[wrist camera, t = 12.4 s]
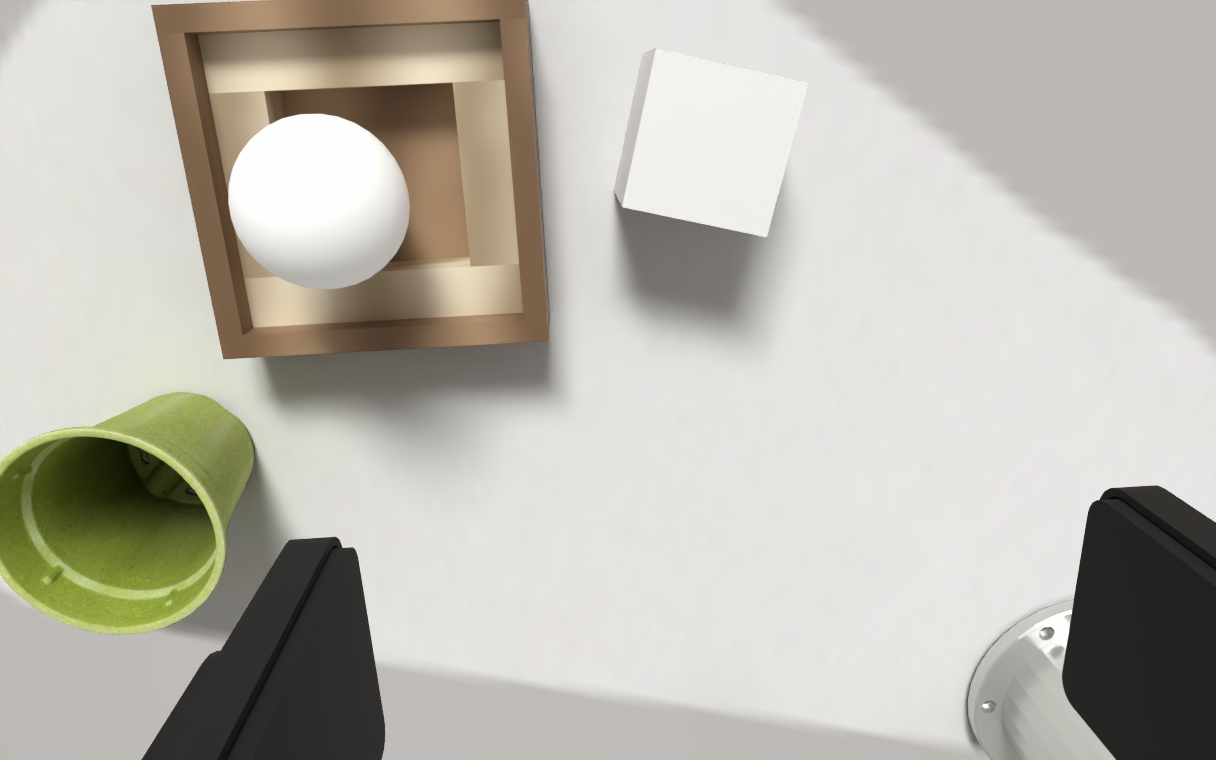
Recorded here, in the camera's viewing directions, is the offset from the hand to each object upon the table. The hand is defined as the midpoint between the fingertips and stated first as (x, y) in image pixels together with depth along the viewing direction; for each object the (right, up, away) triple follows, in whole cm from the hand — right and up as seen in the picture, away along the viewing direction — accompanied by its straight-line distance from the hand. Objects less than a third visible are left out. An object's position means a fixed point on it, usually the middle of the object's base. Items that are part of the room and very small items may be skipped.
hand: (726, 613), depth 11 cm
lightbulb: (-12, +12, +27) cm, 32 cm away
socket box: (-12, +12, +27) cm, 32 cm away
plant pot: (-22, 0, +31) cm, 38 cm away
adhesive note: (+2, +14, +28) cm, 31 cm away
